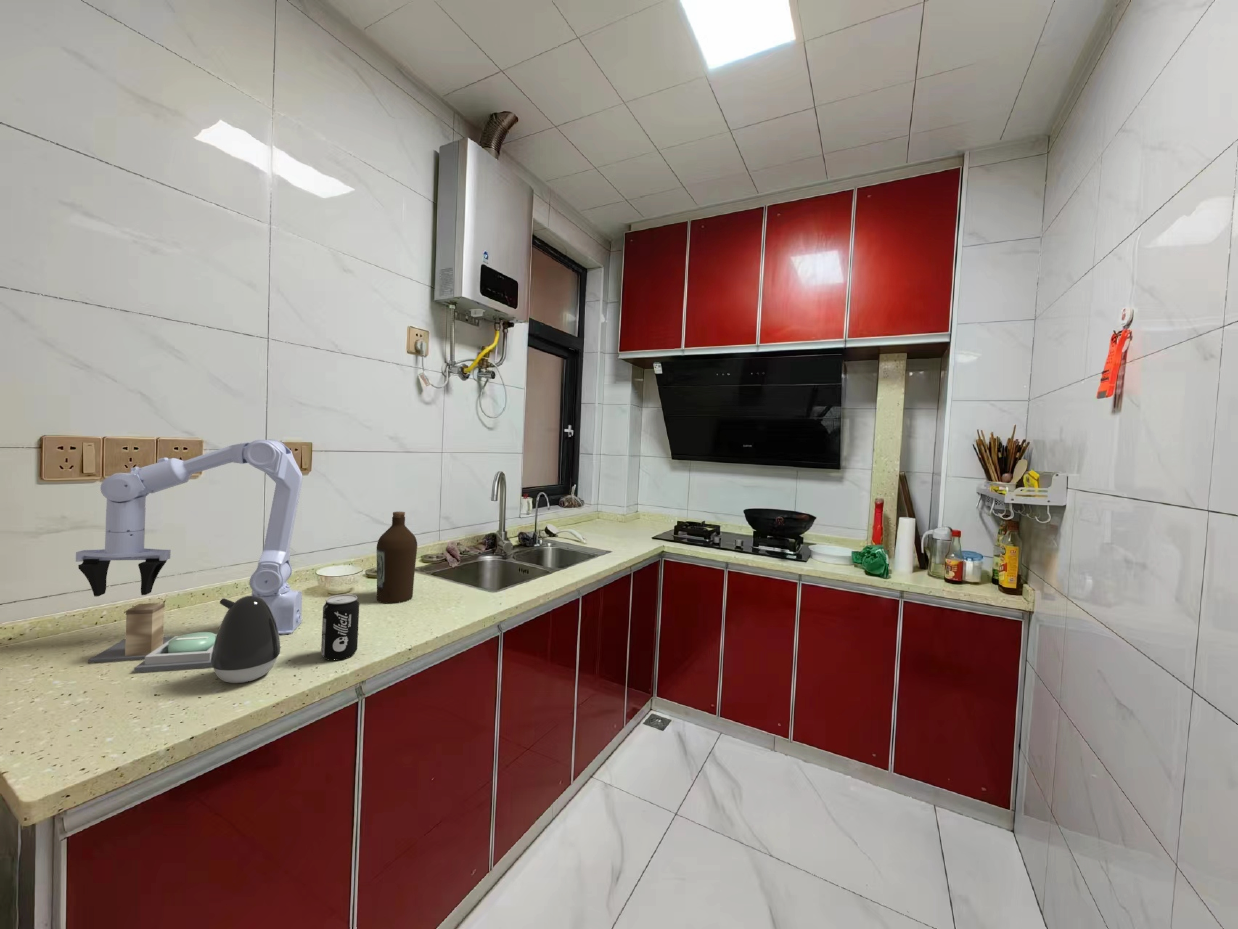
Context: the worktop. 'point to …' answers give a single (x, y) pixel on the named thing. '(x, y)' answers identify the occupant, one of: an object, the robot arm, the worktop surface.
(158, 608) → the wooden rectangular block
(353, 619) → the beverage can
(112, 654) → the mat
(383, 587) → the olive oil
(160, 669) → the switch panel
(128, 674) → the worktop surface
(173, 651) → the button
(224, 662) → the pump dispenser
